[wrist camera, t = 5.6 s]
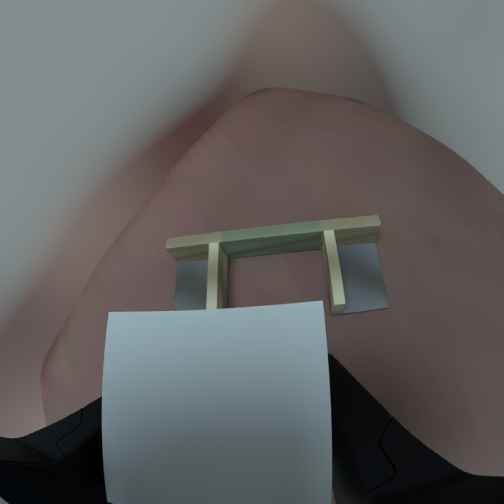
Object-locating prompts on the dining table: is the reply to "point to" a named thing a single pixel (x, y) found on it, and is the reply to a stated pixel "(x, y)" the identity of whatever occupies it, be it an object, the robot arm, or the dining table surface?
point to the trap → (283, 241)
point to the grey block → (217, 406)
